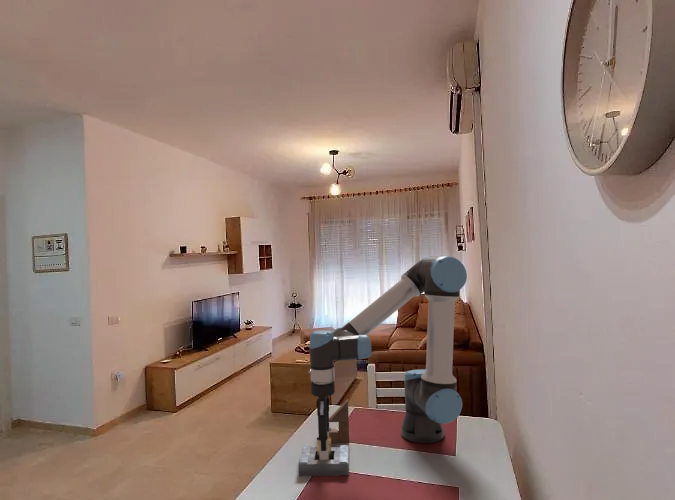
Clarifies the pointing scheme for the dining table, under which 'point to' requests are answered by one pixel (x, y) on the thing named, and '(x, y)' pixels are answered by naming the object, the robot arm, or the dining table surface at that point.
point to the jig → (324, 462)
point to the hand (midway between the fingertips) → (324, 456)
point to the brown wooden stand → (340, 424)
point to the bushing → (328, 448)
